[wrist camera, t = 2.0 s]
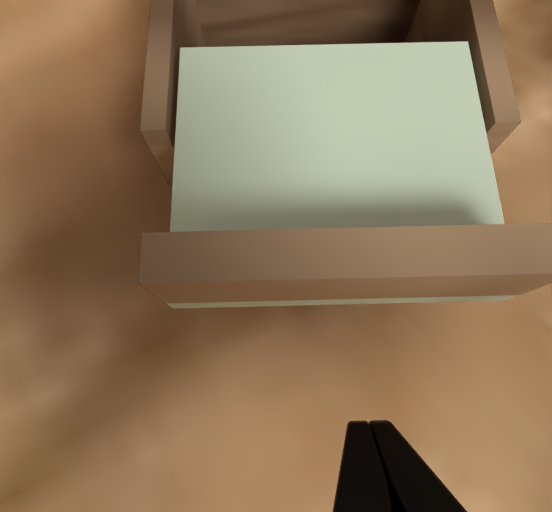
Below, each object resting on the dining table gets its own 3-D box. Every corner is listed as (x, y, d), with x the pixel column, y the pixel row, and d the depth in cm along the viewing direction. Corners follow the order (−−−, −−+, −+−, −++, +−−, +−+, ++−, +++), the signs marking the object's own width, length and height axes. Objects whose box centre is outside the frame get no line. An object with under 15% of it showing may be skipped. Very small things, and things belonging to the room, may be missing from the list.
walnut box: (429, 220, 21) (521, 121, 13) (191, 225, 21) (139, 130, 13) (406, 59, 24) (469, -100, 16) (198, 63, 24) (159, -94, 16)
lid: (504, 300, 12) (578, 272, 9) (172, 308, 12) (137, 283, 9) (458, 59, 15) (505, -26, 12) (185, 64, 15) (161, -18, 12)
